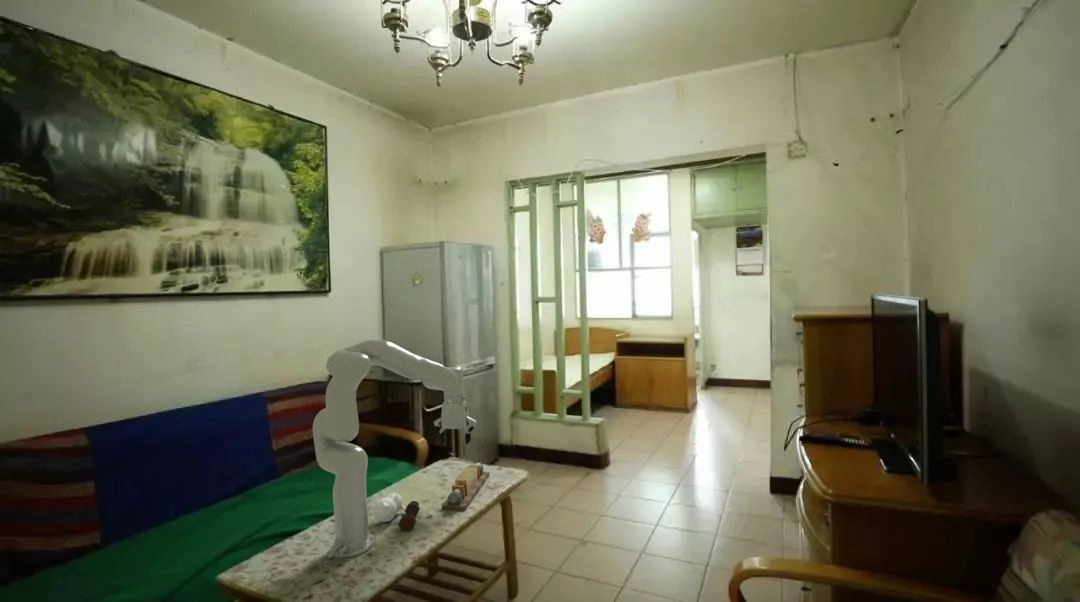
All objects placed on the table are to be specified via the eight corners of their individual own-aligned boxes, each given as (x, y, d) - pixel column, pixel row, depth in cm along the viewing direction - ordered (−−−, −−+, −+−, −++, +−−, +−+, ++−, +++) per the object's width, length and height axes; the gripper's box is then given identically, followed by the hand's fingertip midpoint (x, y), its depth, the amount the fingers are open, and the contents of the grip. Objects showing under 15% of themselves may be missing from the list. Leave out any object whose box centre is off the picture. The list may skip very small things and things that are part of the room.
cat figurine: (394, 483, 162) (375, 497, 151) (417, 500, 161) (400, 515, 149) (383, 503, 163) (363, 518, 152) (406, 520, 161) (388, 537, 150)
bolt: (417, 514, 162) (409, 535, 147) (404, 509, 161) (395, 529, 146) (424, 499, 162) (418, 518, 147) (411, 494, 162) (403, 512, 147)
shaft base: (465, 510, 159) (465, 492, 159) (441, 509, 161) (440, 492, 160) (489, 475, 189) (488, 461, 189) (468, 475, 190) (467, 460, 190)
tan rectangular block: (477, 480, 181) (477, 466, 180) (467, 495, 168) (466, 480, 168) (467, 480, 181) (466, 466, 181) (455, 494, 168) (455, 480, 168)
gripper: (478, 396, 176) (480, 440, 176) (437, 396, 180) (438, 439, 180) (472, 401, 169) (474, 446, 169) (429, 401, 172) (431, 445, 172)
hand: (455, 442), depth 174 cm, fingers open, 9 cm apart
